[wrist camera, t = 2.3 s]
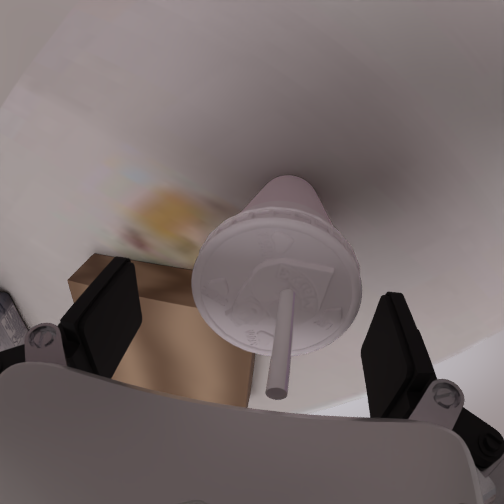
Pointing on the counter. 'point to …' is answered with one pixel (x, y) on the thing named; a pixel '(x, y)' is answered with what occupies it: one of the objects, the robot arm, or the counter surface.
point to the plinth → (175, 339)
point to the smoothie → (278, 278)
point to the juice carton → (10, 324)
